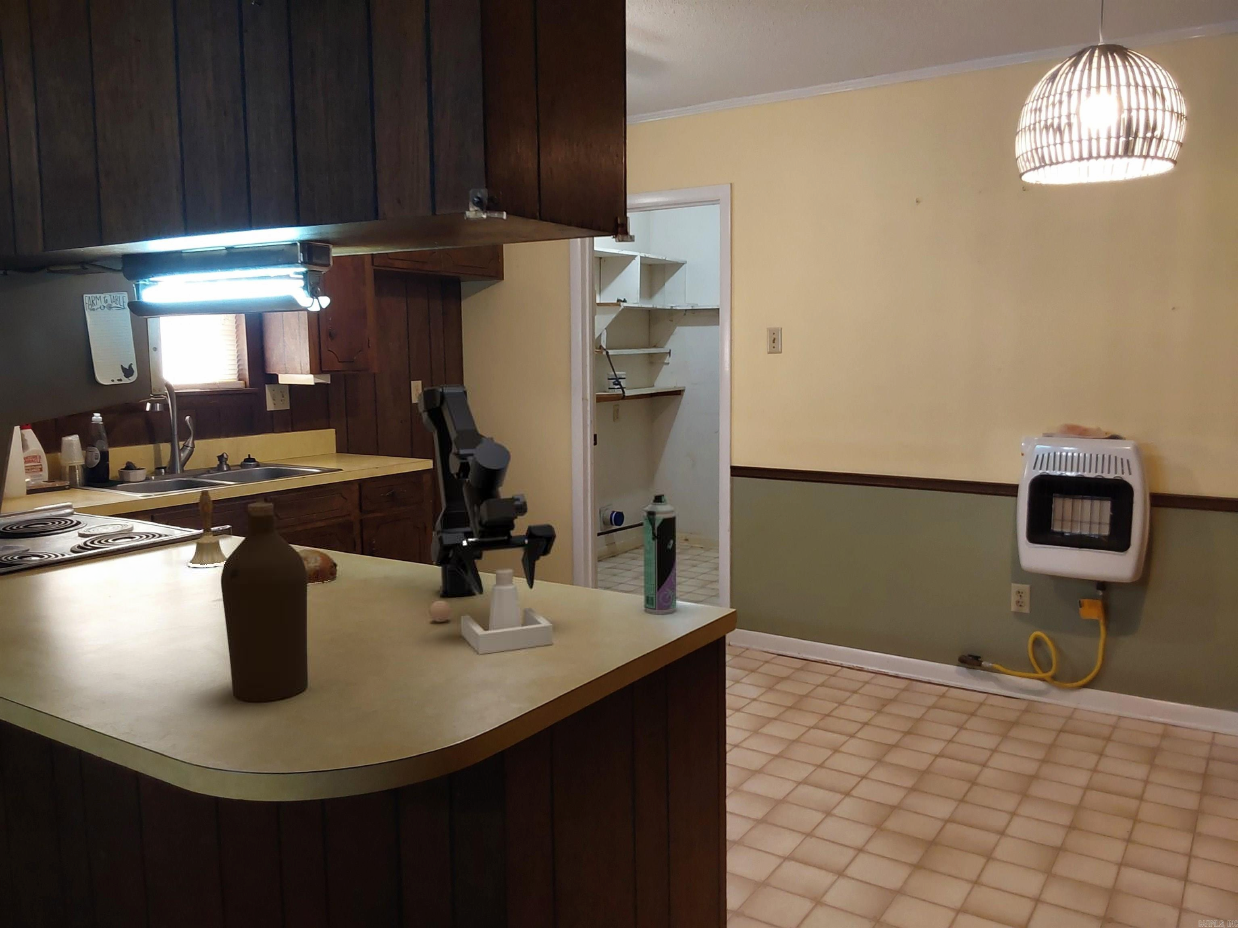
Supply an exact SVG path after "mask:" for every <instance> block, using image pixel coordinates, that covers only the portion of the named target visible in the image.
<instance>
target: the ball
mask: <svg viewBox="0 0 1238 928" xmlns="http://www.w3.org/2000/svg"><path fill="white" fill-rule="evenodd" d="M451 614H452V608H451V605H449V603H448V602H446V601H444V600H437V601H435V602H433V603H432V604H431V606H430V608H429V615H430V617H431V619H432V620H433V621H435V622H436V623H444V622H446V621H447V620H448V619H449V618H450V616H451Z"/></svg>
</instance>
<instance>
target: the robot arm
mask: <svg viewBox="0 0 1238 928" xmlns="http://www.w3.org/2000/svg"><path fill="white" fill-rule="evenodd" d="M417 396H418V397H417V407H418V412H419V413H421V416H422V417H421V418H422V422H423V425H424V426H425V427H426V428H427V429H428V431H429V432H430V433H431V435H432V436H433V441H434V442H433V443H434V449H435V451H434V452H435V459H436V467H437V475H438V485H439V492H440V499H441V509H442V510H441V512H440V515H439V517H438V519H437V522H436V523H435V530H434V532H433V536H432V540H431V545H430V555H431V560H432V561H433V562H434V565H435V566H437V567H438V568H440V571H441V585H440V586H439V597H442V598H444V597H458V596H459V597H462V596H464V597H465V596H475V595H477V594H476V593H478V594H479V595H484V586H483V582H482V577H481V576H480V573H479V570H478V566H477V564H476V561H475V560H478V561H482V558H483V554H484V552H493V551H494V552H495V551H503V550H504V551H505V550H514V549H522V553H523V554H522V557H521V559H520V561H521V565H522V568H523V572H524V576H525V580H526V584H527V586H528V588H529V589H530V590H532V589H534V586H535V585H534V584H535V583H534V582H535V572H536V564H537V563H536V562H537V561H539V560H540V559H541V558H542V557H547V556H548V555H550V554H551V551H552V548H553V546H554V544H555V540H556V539H557V534H556V531H555V528H554V526H552V524H550V523H544V524H531V525H528V526H527V529H526V533H525V534H518V535H517V534H516V535H512V533H511V532H513V531H514V530H515V527H516V524H515V520H517V519H518V517H524V516H525V515H526V514H527V513H528V511H529V510H528V509H529V508H528V504H527V503H528V502H527V500H526V496H525V494H524V493H518V494H512V497H504V498H502V495H501V492H500V489H499V488H501V487H503V486H504V482H505V480H506V476H507V472H508V469H509V464H510V462H511V452H510V451H509V450H508V448H506V447H505V446H504V445H502V444H501V443H498V442H495V439H494V437H493V436H491V437H489V436H488V437H486V436H484V435H483V434H481V433H480V432H479V430H478V427H477V425H476V424H477V423H476V422H475V421H476V420H475V419H474V417H473V416H474V415H473V414H472V410H471V408H470V405H469V402H468V401H469V400H468V390H467V387H466V385H465V386H464V385H462V384H440V386H436V387H424V389H423V390H422V391H421V392H419V394H418V395H417ZM465 480H466V481H465ZM464 481H465V482H464Z"/></svg>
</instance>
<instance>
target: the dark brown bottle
mask: <svg viewBox="0 0 1238 928" xmlns="http://www.w3.org/2000/svg"><path fill="white" fill-rule="evenodd" d="M246 508H247V512H248V514H247V515H246V517H247V519H246V520H247V528H248V529H247V534H246V536H245V537H244V539H243V540H242V541H241V542H240V543H239V544H238V545H237V546H236V548H235V549H234V550H233V551H232V552H231V553H230V555H228V557H227V558H228V559H227V560H226V562H225V564H224V566H222V567H223V568H222V570H221V571H222V572H221V577H220V587H221V594H222V595H221V596H222V604H223V610H224V611H223V613H224V619H225V621H224V622H225V630H226V637H227V647H228V654H229V655H228V657H229V665H230V675H231V676H230V677H231V678H230V679H231V688H232V694H233V696H234V698H235V699H237V700H240V701H243V702H253V703H254V702H255V703H256V702H257V703H262V702H271V701H278V700H285V699H287V698H290V697H293V696H296V695H299V694H300V693H302V692H303V691H305V690H306V689H307V687H308V685H309V680H308V679H309V674H308V673H309V671H308V668H309V667H308V585H307V571H306V567H305V564H304V562H303V559H302V557H301V556H300V554H299V553H298V552H299V551H297V550H296V549H295V548H294V547H293V546H292V545H291V544H289V543H288V541H286V540H285V539H284V538H283V537H281V535H280V534H278V532H277V531H276V516H275V515H276V514H275V512H274V503H272V502H267V501H266V502H253V503H249V504H248V505H247V507H246Z"/></svg>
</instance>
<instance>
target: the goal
mask: <svg viewBox="0 0 1238 928" xmlns="http://www.w3.org/2000/svg"><path fill="white" fill-rule="evenodd" d="M522 609H523V610H522V611H523V613H522V614H523V626H522V627H515V628H507V629H499V630H492V631H489V630H484V629H483V628H482V627H481V626H480V625H479V624H478V623H477V622H476V621H475V620H474V619H473V618H472V617H471V616H470V615H461V616H460V619H461V621H460V622H461V636H462V637H463V638H464V639H465V640H466V641H467V642H468V643H469V645H470V646H471V647H472V648H473V649H474V650H475V651H476V652H477V653H478V654H479V655H484V654H490V653H491V654H492V653H497V652H498V653H499V652H506V651H515V650H521V649H527V648H528V649H529V648H534V647H535V648H536V647H542V646H549V645H553V644H554V640H553V639H554V638H553V637H554V636H553V635H554V634H553V633H554V632H553V624H552V623H551V622H549V621H548V620H547V619H545V618H544V617H542V616H541V615H540V614H539V613H538V612H537V611H535V610H534V609H532V608H531V607H529V608H528V607H527V608H525V607H524V608H522Z"/></svg>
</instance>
